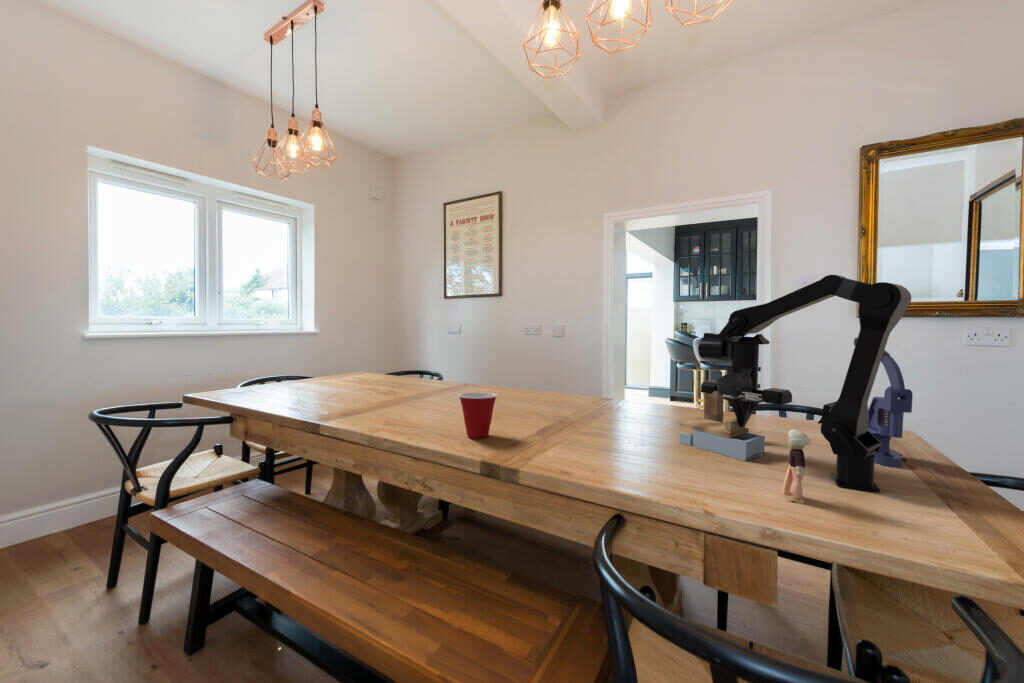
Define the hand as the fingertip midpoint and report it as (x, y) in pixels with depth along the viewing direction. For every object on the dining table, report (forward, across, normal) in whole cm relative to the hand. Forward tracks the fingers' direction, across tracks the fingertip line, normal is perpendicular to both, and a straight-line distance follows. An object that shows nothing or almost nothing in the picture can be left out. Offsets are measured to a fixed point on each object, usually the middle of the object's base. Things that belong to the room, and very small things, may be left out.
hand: (742, 426), depth 97 cm
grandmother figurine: (+7, +18, -18) cm, 26 cm away
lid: (+2, -7, 0) cm, 7 cm away
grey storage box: (+7, -5, 0) cm, 8 cm away
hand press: (+7, +18, +25) cm, 32 cm away
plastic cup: (+7, -48, -46) cm, 67 cm away
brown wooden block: (+7, -12, +9) cm, 16 cm away
